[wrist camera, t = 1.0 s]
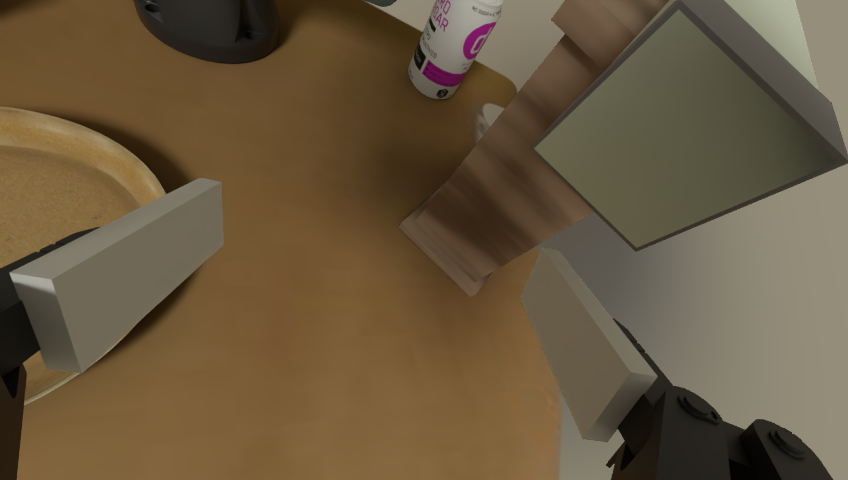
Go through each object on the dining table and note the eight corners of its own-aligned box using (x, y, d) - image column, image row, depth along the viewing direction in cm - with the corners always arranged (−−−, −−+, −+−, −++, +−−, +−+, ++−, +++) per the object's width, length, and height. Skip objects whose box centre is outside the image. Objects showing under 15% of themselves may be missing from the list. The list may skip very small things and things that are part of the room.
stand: (469, 297, 40) (751, 147, 17) (397, 227, 40) (578, -19, 17) (535, 208, 51) (757, 45, 28) (479, 153, 51) (654, -54, 28)
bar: (635, 251, 9) (849, 162, 6) (529, 148, 9) (679, 0, 6) (719, 21, 26) (788, -37, 23) (681, -15, 26) (744, -79, 23)
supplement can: (462, 94, 56) (518, 5, 43) (429, 108, 51) (482, 13, 39) (430, 59, 56) (477, -38, 44) (396, 69, 52) (437, -36, 39)
